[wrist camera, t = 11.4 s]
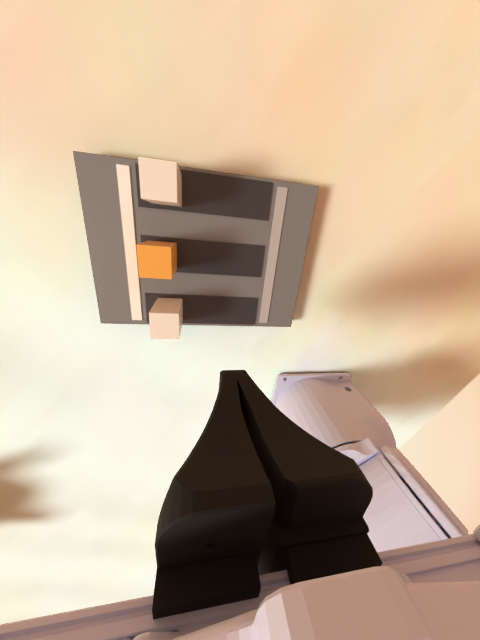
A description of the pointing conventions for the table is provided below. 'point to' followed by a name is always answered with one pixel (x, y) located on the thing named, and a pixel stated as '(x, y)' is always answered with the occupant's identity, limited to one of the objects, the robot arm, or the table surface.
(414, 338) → the table surface
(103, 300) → the panel
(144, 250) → the breaker
